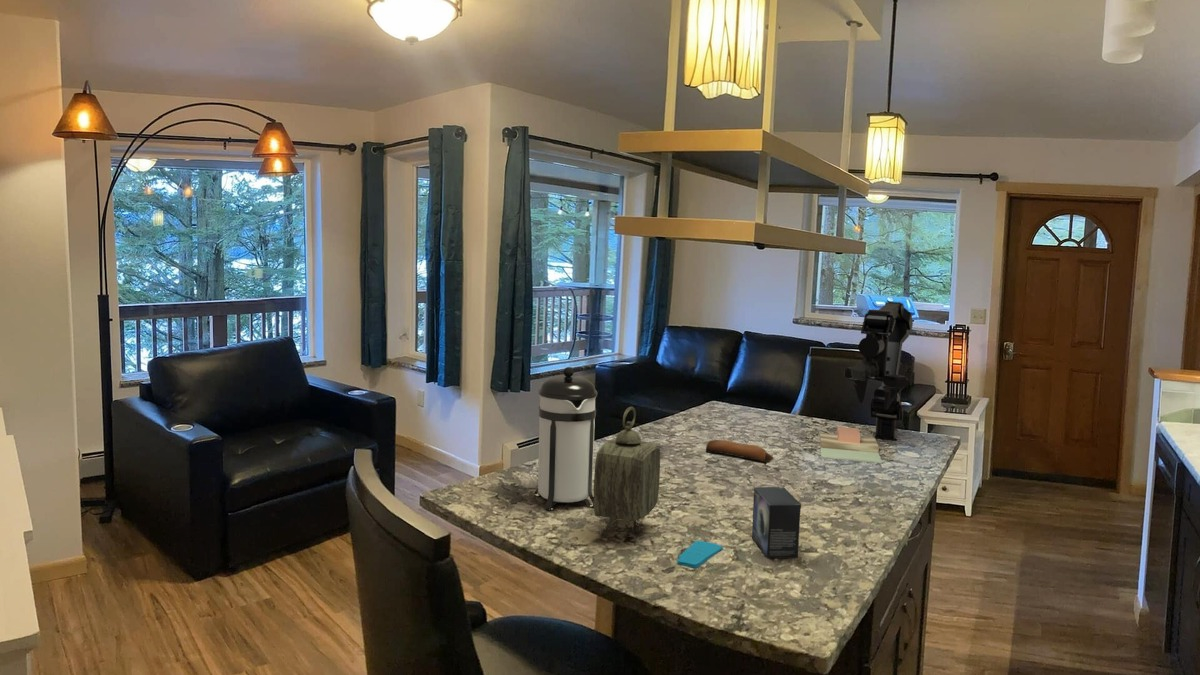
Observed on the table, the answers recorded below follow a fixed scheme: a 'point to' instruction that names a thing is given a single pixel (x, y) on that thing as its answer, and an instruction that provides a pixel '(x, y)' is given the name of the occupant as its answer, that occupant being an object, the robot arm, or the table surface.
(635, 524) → the tabletop clock
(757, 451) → the sunglasses case
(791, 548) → the small box
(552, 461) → the coffee press
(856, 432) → the coral tile
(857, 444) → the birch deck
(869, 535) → the table surface
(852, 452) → the sage mat
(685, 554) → the sponge
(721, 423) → the table surface
